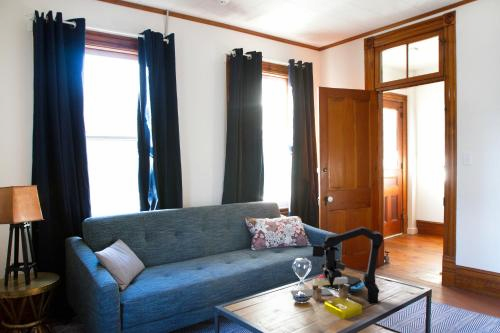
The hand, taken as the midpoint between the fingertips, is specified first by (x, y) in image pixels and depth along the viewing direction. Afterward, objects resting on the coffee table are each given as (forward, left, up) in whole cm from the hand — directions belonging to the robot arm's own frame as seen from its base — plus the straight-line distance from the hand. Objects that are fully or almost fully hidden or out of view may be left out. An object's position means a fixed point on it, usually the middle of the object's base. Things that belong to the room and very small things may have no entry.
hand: (330, 284), depth 214 cm
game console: (+19, -20, -5) cm, 28 cm away
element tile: (-16, -1, -9) cm, 18 cm away
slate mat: (+9, +8, -8) cm, 15 cm away
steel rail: (0, 0, 0) cm, 0 cm away
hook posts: (0, 0, -8) cm, 8 cm away
